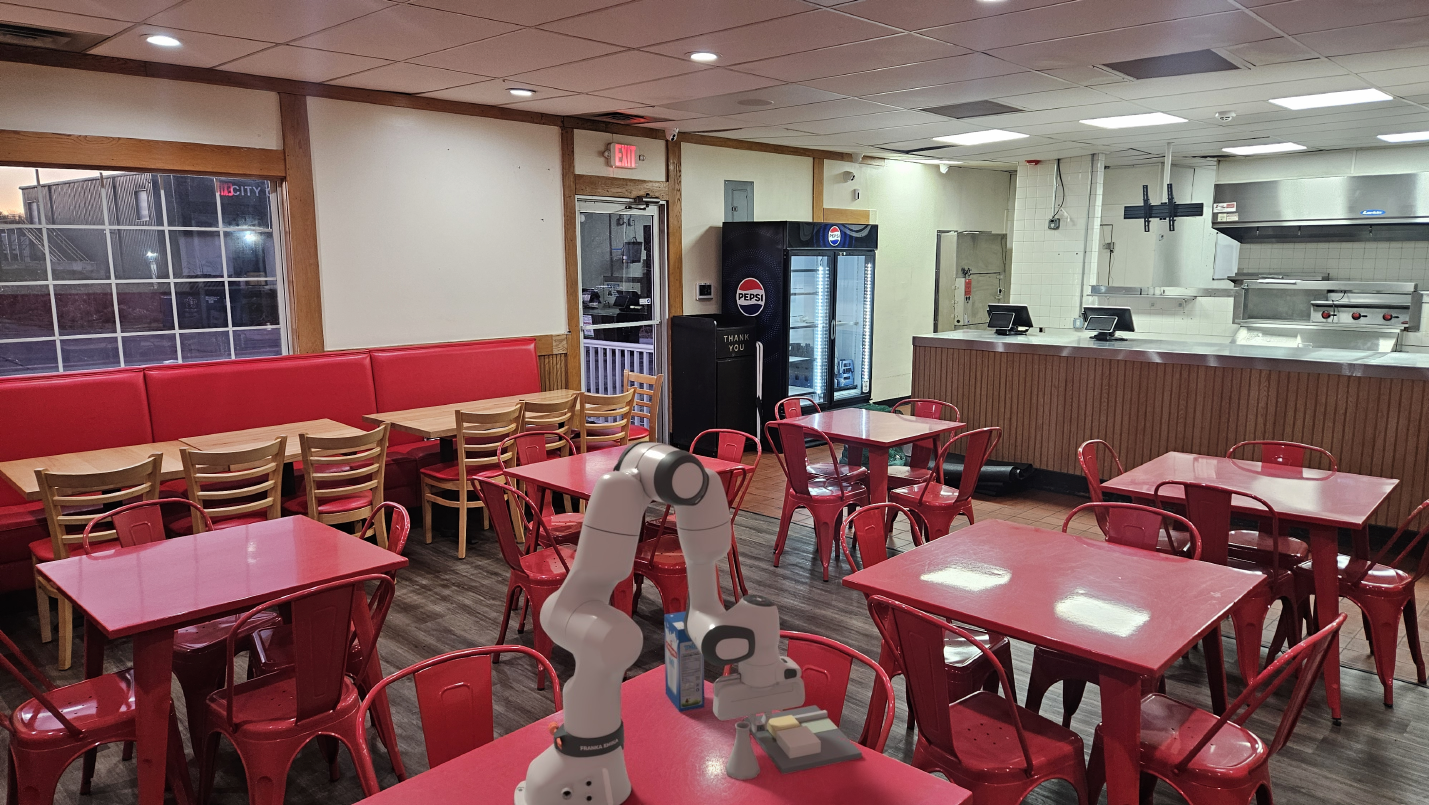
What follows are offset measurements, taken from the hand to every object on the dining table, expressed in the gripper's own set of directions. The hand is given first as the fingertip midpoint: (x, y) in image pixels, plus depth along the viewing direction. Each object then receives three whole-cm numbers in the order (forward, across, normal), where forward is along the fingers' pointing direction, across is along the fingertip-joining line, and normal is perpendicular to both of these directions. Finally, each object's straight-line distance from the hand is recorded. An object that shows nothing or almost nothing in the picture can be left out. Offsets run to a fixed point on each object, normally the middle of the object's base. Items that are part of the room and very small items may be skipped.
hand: (759, 730), depth 196 cm
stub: (+1, +6, 0) cm, 6 cm away
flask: (+3, -8, -10) cm, 12 cm away
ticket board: (+2, +8, -2) cm, 9 cm away
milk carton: (+3, -10, +24) cm, 25 cm away
